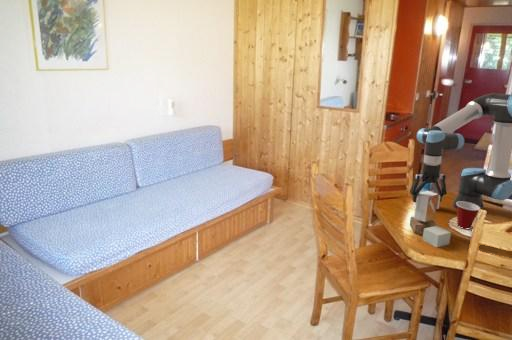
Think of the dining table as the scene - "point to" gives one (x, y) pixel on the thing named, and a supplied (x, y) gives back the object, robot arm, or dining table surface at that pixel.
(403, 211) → the dining table surface
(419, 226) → the walnut block
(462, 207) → the plastic cup
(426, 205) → the small box
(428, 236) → the grey block
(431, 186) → the beverage bottle
